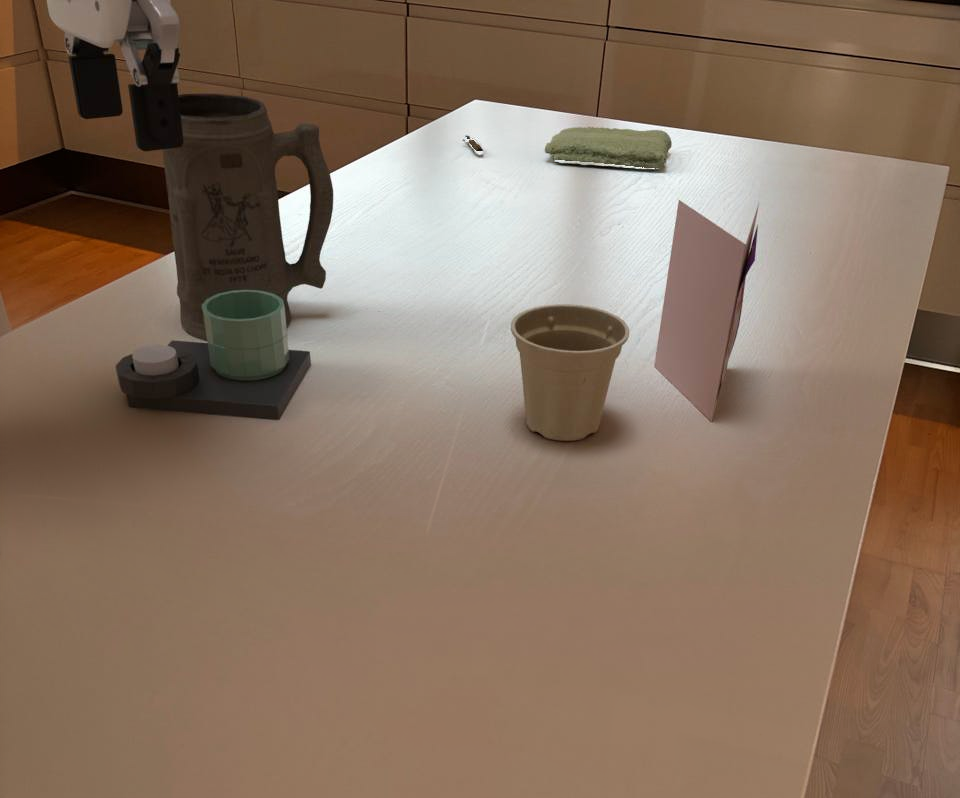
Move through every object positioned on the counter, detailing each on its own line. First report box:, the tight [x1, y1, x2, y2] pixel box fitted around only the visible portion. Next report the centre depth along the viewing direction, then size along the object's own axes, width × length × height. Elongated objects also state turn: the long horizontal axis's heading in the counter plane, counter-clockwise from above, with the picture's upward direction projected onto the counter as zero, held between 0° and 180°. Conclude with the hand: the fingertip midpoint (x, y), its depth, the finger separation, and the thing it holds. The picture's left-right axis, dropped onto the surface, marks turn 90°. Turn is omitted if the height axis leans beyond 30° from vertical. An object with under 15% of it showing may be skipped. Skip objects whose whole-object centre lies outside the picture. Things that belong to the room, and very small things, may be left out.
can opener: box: [462, 134, 484, 152], centre depth 153 cm, size 9×2×1 cm, turn 8°
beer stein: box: [161, 93, 334, 341], centre depth 96 cm, size 15×11×20 cm
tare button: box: [131, 344, 179, 376], centre depth 86 cm, size 4×4×1 cm
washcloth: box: [544, 126, 673, 169], centre depth 151 cm, size 13×18×3 cm
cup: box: [202, 290, 290, 381], centre depth 89 cm, size 7×7×6 cm
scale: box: [115, 339, 312, 421], centre depth 89 cm, size 14×12×3 cm
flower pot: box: [510, 303, 630, 442], centre depth 84 cm, size 9×9×9 cm
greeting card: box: [653, 199, 760, 422], centre depth 88 cm, size 11×7×15 cm, turn 163°
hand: (130, 131), depth 73 cm, fingers open, 9 cm apart
